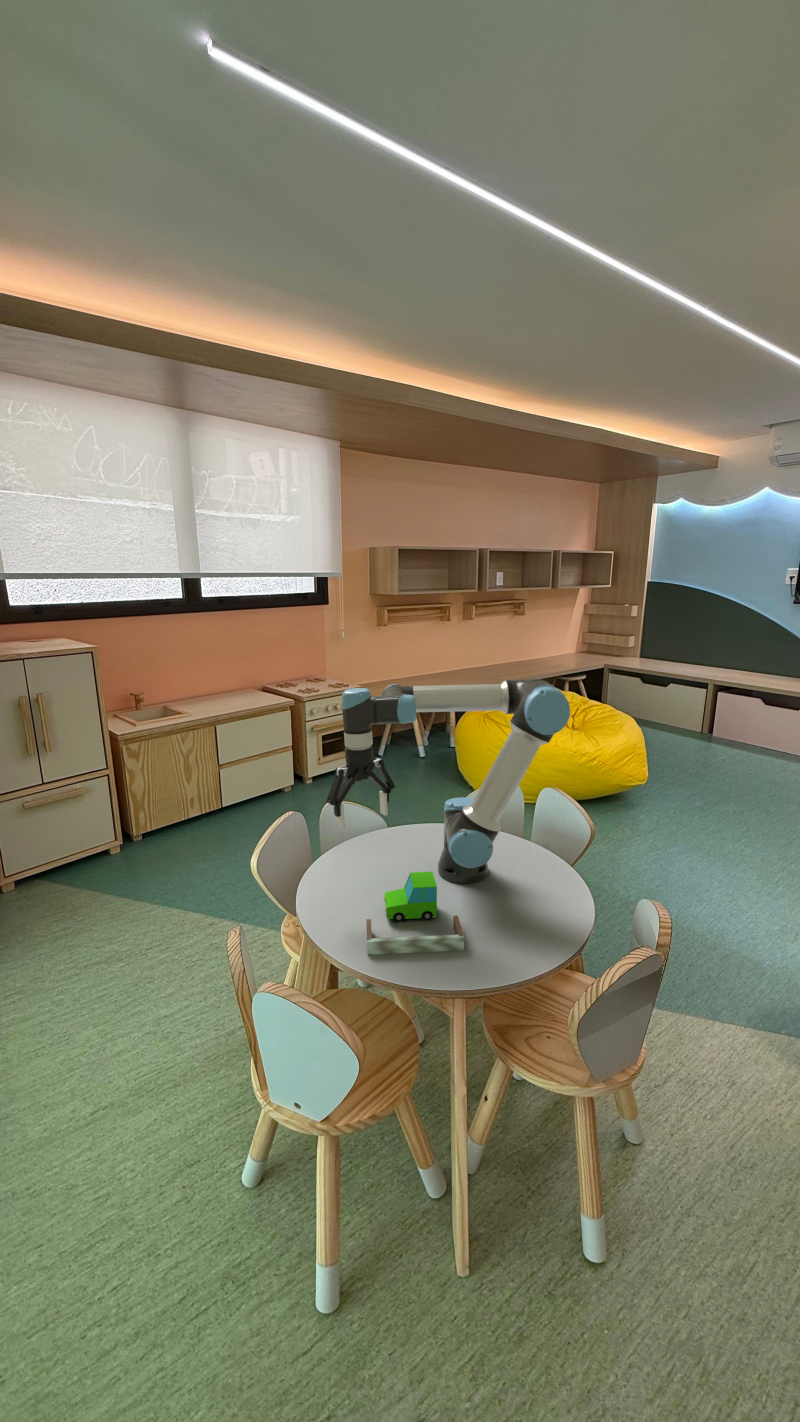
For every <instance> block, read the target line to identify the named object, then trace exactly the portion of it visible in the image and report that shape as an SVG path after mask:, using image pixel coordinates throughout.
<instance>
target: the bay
mask: <svg viewBox="0 0 800 1422" xmlns="http://www.w3.org/2000/svg"><path fill="white" fill-rule="evenodd" d="M452 928H453V929H452V930H453V933H454V934H445V935H444V934H443V935H425V936H424V935H420V936H401V937H400V936H399V937H397V936H396V937H379V938H378V937H377V938H376V937H375V938H373V936H372V935H373V933H372V919H371V918H370V919H368V918H367V919H366V955H367V954H372V955H388V954H390V955H391V954H409V953H411V954H412V953H413V954H414V953H430V952H431V953H433V952H436V953H437V952H451V951H454V952H456V951H464V950H465V935H464V932H463V927H462V925H461V921H460V918H459V915H457V914H456V915H453V916H452Z"/></svg>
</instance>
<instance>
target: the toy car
mask: <svg viewBox="0 0 800 1422" xmlns="http://www.w3.org/2000/svg"><path fill="white" fill-rule="evenodd" d="M383 898H384V902H385V904H384V905H385V914H386V918H387V920H393V921H394V923H403V922H404V920H406V919H407V920H408V919H411V920H412V919H421V920H423V921H424V922H429V921H431V920H432V919H433V918H437V917H438V914H437V912H438V908H437V907H438V901H437V900H438V886H437V882H436V879H435V875H434V872H433V871H415V872H414V871H413V872H409V875H408V877H407V879H406V883H405V884H404V888H399V889H393V890H389V891H385V893H384V897H383Z"/></svg>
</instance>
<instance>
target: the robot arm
mask: <svg viewBox="0 0 800 1422" xmlns="http://www.w3.org/2000/svg"><path fill="white" fill-rule="evenodd" d="M341 705H342V706H341V711H342V722H343V736H344V737H343V739H344V746H345V748H344V753H345V755H344V756H345V763H346V765H345V767H338V766H337V767H335V773H334V774H335V775H334V779H333V781H332V784H331V787H330V789H329V792H328V796H327V798H326V803H328V804H329V805H331V806H333V814H334V816H335V817H336V819H337V826H338V827H339V828H341V829H342V830H343V829H345V828H346V823H345V806H344V804H342V803H343V801H344V800H345V798H346V796H347V794H348V793H349V791H350V789H351V788H352V786H353V785H355V783H356V782H360V781H363V780H368V779H369V778H370V780H372V782H373V783H374V784H376V786H378V788H379V789H380V790H379V793H378V794H379V809H380V810H379V811H380V812H379V813H380V814H381V815H383V816H385V817H386V816H388V815H389V814H388V812H389V811H388V809H389V808H388V803H390V794H391V793H392V790H393V789H395V788H396V786H395V785H396V784H395V783H394V781H393V779H392V778H391V776H390V774H389V773H388V770H387V769H386V767H385V761H384V759H382V758H379V757H376V758H375V760H374V746H373V744H374V742H373V741H374V739H373V727H372V726H373V725H393V724H394V725H395V724H397V725H398V724H399V725H400V724H401V725H405V724H411V723H415V722H416V720H417V713H431V712H432V713H435V712H436V713H441V712H442V713H443V712H445V713H450V712H491V711H493V712H494V711H495V712H497V711H499V712H502V713H503V714H504V715H513V716H511V718H510V721H509V724H510V729H511V731H510V733H509V735H508V736H507V738H506V740H505V742H504V743H503V745H502V747H501V748H500V750H499V753H498V754H497V757H496V759H495V760H494V762H493V764H492V766H491V768H490V769H489V771H488V773H487V774H486V776H485V778H484V780H483V782H482V784H481V786H480V787H479V789H478V791H477V793H476V794H475V797H474V798H472V797H454V798H453V797H452V798H450V799H447V800H446V801H445V802H444V809H443V811H444V812H443V813H444V814H443V815H444V816H443V818H444V820H443V823H444V825H443V827H444V828H443V831H444V832H443V849H442V852H441V855H440V857H439V860H438V863H437V872H438V874H439V876H440V877H441V878H443V879H444V880H447V881H449V882H452V883H457V884H473V883H477V882H480V881H483V880H484V879H486V877H487V876H488V873H489V865H488V862H489V861H490V860H491V858H492V856H493V852H494V844H493V843H494V841H495V839H496V838H497V836H498V835H499V832H500V830H501V826H500V822H499V820H500V819H501V817H502V815H503V813H504V812H505V810H506V808H507V806H508V805H509V803H510V801H511V799H512V798H513V796H514V795H515V792H516V791H517V789H518V787H519V785H520V783H521V782H522V780H523V777H524V776H525V775H526V773H527V771H528V769H529V768H530V765H531V764H532V762H533V761H534V759H535V756H536V755H537V753H538V751H539V750H540V748H541V746H544V745H547V744H549V743H550V742H551V740H552V738H553V737H554V735H555V734H556V733H559V732H561V731H562V730H563V729H564V728H565V727H566V725H568V722H569V719H570V716H571V707H570V703H569V700H568V699H567V697H566V695H565V693H563V691H561V690H560V689H559V688H558V687H555V686H554V685H552V684H551V683H550V682H549V681H547V680H544V679H542V678H541V679H539V678H528V679H527V678H526V679H510V680H508V679H507V680H503V681H502V682H501V683H490V684H488V683H487V684H486V683H485V684H449V685H448V684H447V685H446V684H443V685H440V684H439V685H407V686H406V685H403V686H402V685H401V684H398V683H392V684H389V685H387V686H386V687H385V688H384V690H383V691H382V694H381V695H372V694H371V691H370V689H368V688H364V687H362V688H361V687H356V688H355V687H354V688H348V689H345V690H344V691H342V694H341ZM375 767H376V768H377V770H378V773H379V774H380V776H381V778H382V779H383V781H384V782H383V781H382V780H381V779H380V778H379V777H378V776H377V775H376V773H375V772H374V771H373V770H374V768H375ZM344 777H345V778H344Z"/></svg>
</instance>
